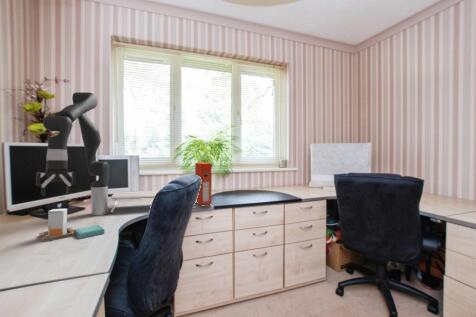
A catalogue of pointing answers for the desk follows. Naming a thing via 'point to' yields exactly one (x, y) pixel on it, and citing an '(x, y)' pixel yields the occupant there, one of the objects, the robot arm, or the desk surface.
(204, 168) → the file binder
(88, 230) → the tile
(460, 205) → the desk surface
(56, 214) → the skincare box
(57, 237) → the wooden square frame
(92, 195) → the robot arm
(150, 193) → the monitor stand
